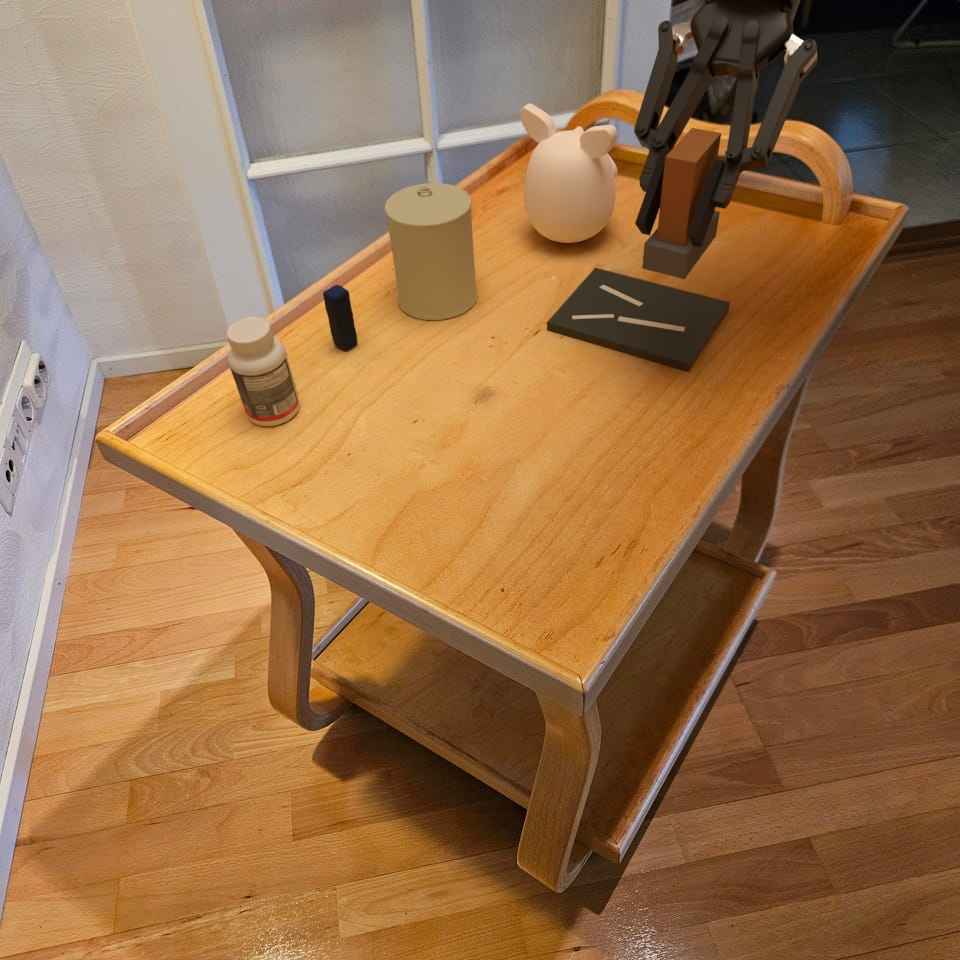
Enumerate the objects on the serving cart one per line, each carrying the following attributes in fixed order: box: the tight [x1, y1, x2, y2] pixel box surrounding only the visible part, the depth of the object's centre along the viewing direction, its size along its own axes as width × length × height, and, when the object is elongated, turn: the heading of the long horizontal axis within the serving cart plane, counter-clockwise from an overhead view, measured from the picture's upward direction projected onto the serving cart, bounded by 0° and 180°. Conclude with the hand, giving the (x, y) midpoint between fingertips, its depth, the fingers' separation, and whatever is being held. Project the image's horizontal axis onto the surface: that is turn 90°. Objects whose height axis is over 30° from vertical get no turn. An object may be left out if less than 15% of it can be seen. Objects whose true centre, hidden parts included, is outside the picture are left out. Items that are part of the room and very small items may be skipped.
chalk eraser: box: [641, 127, 722, 280], centre depth 72 cm, size 4×8×10 cm, turn 149°
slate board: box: [546, 267, 731, 372], centre depth 89 cm, size 16×12×1 cm
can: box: [384, 182, 479, 321], centre depth 90 cm, size 9×9×12 cm
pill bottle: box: [226, 316, 301, 427], centre depth 79 cm, size 5×5×10 cm
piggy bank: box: [519, 102, 619, 244], centre depth 97 cm, size 12×12×15 cm
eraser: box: [322, 284, 358, 352], centre depth 87 cm, size 2×2×7 cm
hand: (668, 234), depth 71 cm, fingers closed on chalk eraser, 4 cm apart
